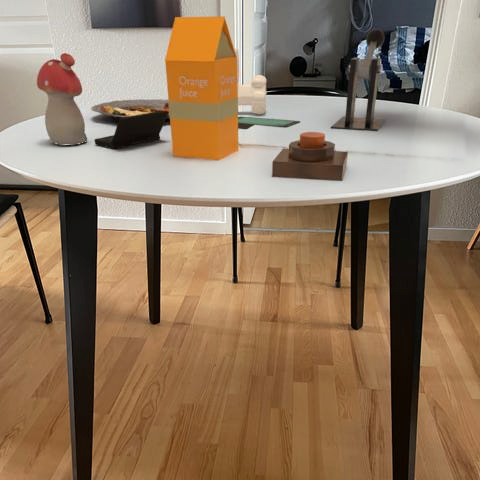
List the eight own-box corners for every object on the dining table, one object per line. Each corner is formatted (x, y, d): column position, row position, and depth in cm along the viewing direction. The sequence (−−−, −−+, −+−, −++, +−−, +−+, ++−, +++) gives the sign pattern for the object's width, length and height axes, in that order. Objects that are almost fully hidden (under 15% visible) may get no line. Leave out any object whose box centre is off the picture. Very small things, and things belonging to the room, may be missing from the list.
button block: (346, 167, 76) (349, 139, 74) (341, 181, 70) (344, 152, 68) (282, 163, 79) (283, 137, 77) (272, 177, 72) (272, 148, 70)
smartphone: (239, 115, 110) (301, 120, 104) (239, 121, 111) (301, 126, 104) (221, 120, 105) (285, 126, 98) (222, 127, 105) (285, 132, 99)
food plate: (220, 115, 117) (219, 99, 116) (143, 131, 103) (141, 112, 101) (151, 105, 132) (150, 91, 130) (75, 118, 117) (72, 102, 115)
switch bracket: (342, 122, 107) (347, 56, 101) (384, 125, 104) (393, 56, 98) (330, 133, 98) (335, 60, 91) (376, 136, 95) (386, 61, 88)
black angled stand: (130, 125, 99) (145, 84, 91) (156, 150, 99) (174, 111, 91) (88, 144, 92) (101, 102, 84) (117, 172, 92) (132, 132, 84)
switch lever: (367, 43, 104) (368, 25, 101) (385, 43, 103) (386, 25, 100) (353, 81, 97) (354, 63, 94) (372, 82, 96) (373, 64, 93)
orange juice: (195, 146, 90) (187, 17, 79) (239, 150, 87) (237, 16, 76) (172, 156, 84) (160, 17, 73) (218, 161, 81) (213, 16, 70)
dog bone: (266, 110, 123) (267, 73, 118) (265, 116, 115) (265, 77, 111) (206, 110, 124) (204, 74, 119) (201, 116, 116) (199, 78, 112)
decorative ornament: (97, 144, 93) (82, 52, 85) (63, 149, 89) (45, 55, 81) (74, 136, 99) (59, 50, 91) (42, 141, 95) (23, 52, 87)
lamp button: (325, 144, 74) (326, 132, 73) (322, 150, 71) (323, 137, 70) (301, 143, 74) (302, 131, 73) (297, 149, 71) (298, 136, 70)
